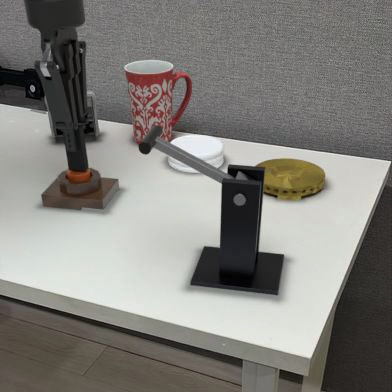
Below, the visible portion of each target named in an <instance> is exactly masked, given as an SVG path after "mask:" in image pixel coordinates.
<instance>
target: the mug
mask: <svg viewBox="0 0 392 392" xmlns="http://www.w3.org/2000/svg"><path fill="white" fill-rule="evenodd" d="M174 67H175V66H174V65H173V64H172V63H171V62H169V61H165V60H160V59H159V60H158V59H145V60H136V61H132V62H129V63H127V64H125V65H124V66H123V69H124V72H125V78H126V86H127V94H128V101H129V107H130V115H131V123H132V129H133V130H132V131H133V138H134V142H135V143H136V144H137V145H139V144H140V142H141V141H142V140H143V139H144V137H145V136H146V135H147V133H148V132H149V131H150V129H151V128H152V127H153V126H154V125H159V126H160V127H161V128H162V129H163V134H162V136H161V137H160V138H162V139H164V140H166V141H167V142H169V143H170V142H171V141H172V140H173V137H172V136H173V129H174V128H175V126H176V125H177V123H178V122H179V120H180V119H181V118H182V116H183V115H184V113H185V111H186V109H187V107H188V105H189V103H190V100H191V96H192V92H193V83H192V79H191V77H190V76H189V74H187V73H185V72H183V71H177V72H175V73H173V72H174ZM181 78H182V79H184V80H185V83H186V89H185V95H184V97H183V99H182V102H181V104H180V105H179V108H178V109H177V110H176V112H175V113H174V114H173V90H174V89H175V87H176V83H177V82H178V80H180V79H181Z"/></svg>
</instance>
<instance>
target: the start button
mask: <svg viewBox="0 0 392 392" xmlns="http://www.w3.org/2000/svg"><path fill="white" fill-rule="evenodd" d="M89 168H90V167H89ZM89 168H88V169H87V170H86V171H74V170H69V168H67V169H66V170H67V177H68V180H70V181H77V182H78V181H85V180H87V179H90V178H91V174H90V169H89Z"/></svg>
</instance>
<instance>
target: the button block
mask: <svg viewBox="0 0 392 392" xmlns="http://www.w3.org/2000/svg"><path fill="white" fill-rule="evenodd" d="M89 169H90V174H91V178H90V179H87V180H85V181H78V182H77V181H70V180H68V177H67V170H68V169H65V170H63V171H61V172H60V173H59V174H58V175H57V177H56V178H55V179H54V180H53V181H52V182H51V184H49V186H48V187H47V188H46V189H44V191H43V192H42V193H41V194H40V197H41V201H42V207H43V208H44V207H46V208H53V209H55V208H56V209H63V210H75V211H82V210H83V209H93V210H105V208H106V207H107V206H108V204H109V203H110V202H111V200H112V199H113V197H114V196H115V195H116V193H117V192H118V191H120V181H119V178H113V177H102V176H101V173H100V171H99V170H97V169H94V168H92V167H89Z"/></svg>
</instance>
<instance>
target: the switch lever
mask: <svg viewBox="0 0 392 392" xmlns="http://www.w3.org/2000/svg"><path fill="white" fill-rule="evenodd" d="M162 134H163V129H162V128H161V127H160V126H159V125H154V126H153V127H152V128H151V129H150V131H149V132H148V133H147V135H146V136H145V137H144V139H143V140H142V141H141V142H140V144H138V151H139V153H140V154H142V155H146V156H147V155H149V154H150V153H151V152H152V150H153V149H155V150H157V151H159V152H161V153H163V154H165V155H167V156H168V157H169V156H170V157H172V158H174V159H176V160H178V161H180V162H182V163H183V164H185V165H187V166H189V167H191V168H193V169H195V170H197V171H198V172H200V173H199V174H202V175H204V176H206V177H208V178H210V179H212V180H214V181H215V182H217V183H219V184H221V185H222V180H223V178H228V179H240V180H252V181H256V180H255V179H253V178H251V177H249V176H247V175H245V174H243V173H242V172H240V171H238V173H237V175H236V177H235V178H234V177H233V176H231V175H229V174H227V172H225V171H223V170H222V169H219V168H216V167H214V166H212V165H210V164H208V163H207V162H205V161H203V160H201V159H199V158H197V157H195V156H194V155H192V154H190V153H188V152H186V151H184V150H182V149H180V148H179V147H177V146H175V145H173V144H171V143H170V142H167V141H166V140H164V139H162V138H160V137H161V136H162Z"/></svg>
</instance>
